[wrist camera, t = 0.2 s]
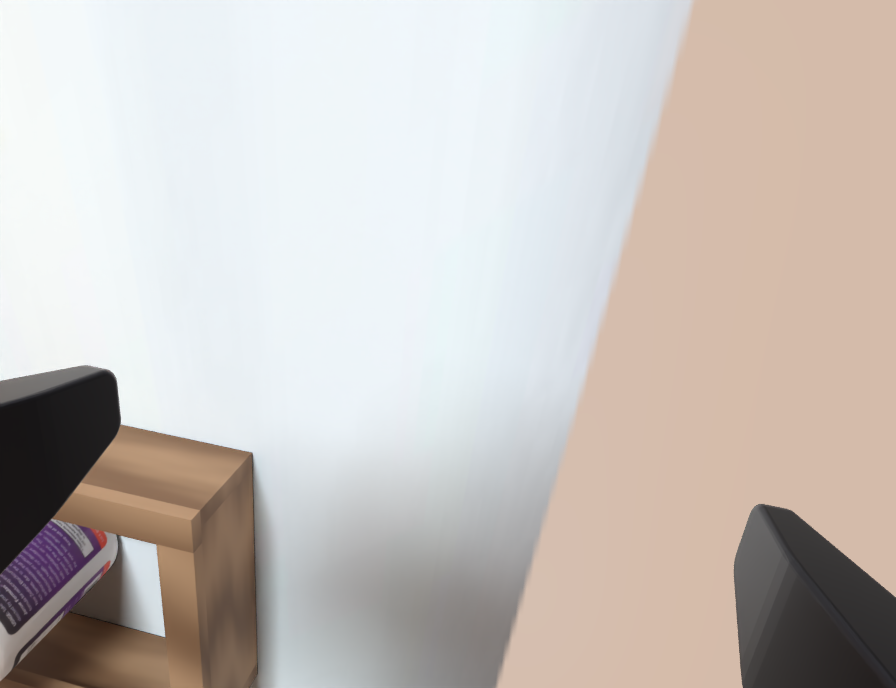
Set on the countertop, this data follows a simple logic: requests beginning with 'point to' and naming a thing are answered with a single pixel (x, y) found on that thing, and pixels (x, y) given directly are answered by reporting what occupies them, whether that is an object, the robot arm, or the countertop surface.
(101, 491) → the slot box
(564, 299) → the countertop surface
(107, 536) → the pill bottle
